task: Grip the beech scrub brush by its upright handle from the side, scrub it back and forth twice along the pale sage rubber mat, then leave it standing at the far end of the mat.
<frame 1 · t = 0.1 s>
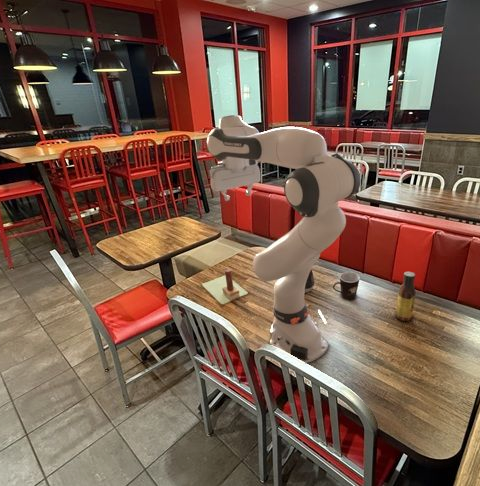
hand: (238, 197, 122), 48 cm above the table, tool pointing down, fingers open, 8 cm apart
scrub mat: (224, 289, 150), on the table
sauce bottle: (403, 317, 126), on the table
coffee mug: (345, 296, 141), on the table
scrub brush: (231, 294, 145), point 1 cm above the table, touching scrub mat
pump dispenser: (303, 290, 147), on the table
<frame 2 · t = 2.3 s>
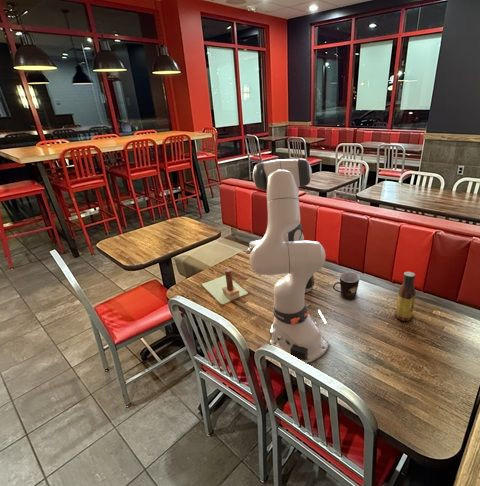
hand: (251, 256, 145), 17 cm above the table, tool horizontal, fingers open, 8 cm apart
nothing on the table moved.
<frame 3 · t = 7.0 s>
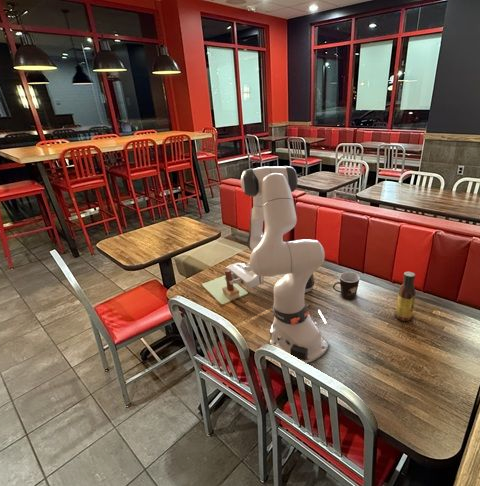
hand: (227, 280, 141), 9 cm above the table, tool horizontal, fingers closed on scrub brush, 3 cm apart
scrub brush: (231, 294, 145), point 1 cm above the table, touching gripper, scrub mat
everything else where it was.
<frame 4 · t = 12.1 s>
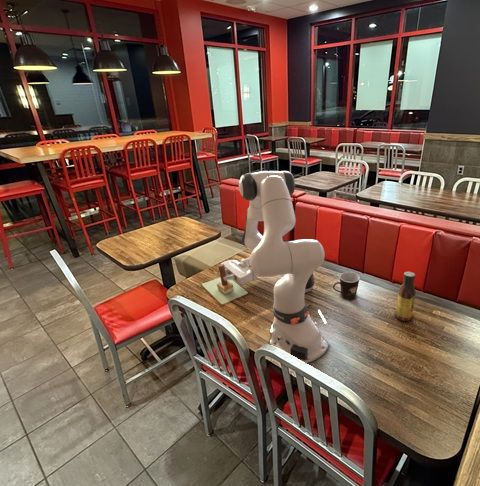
hand: (221, 276, 145), 8 cm above the table, tool horizontal, fingers closed on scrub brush, 3 cm apart
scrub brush: (225, 289, 148), point 1 cm above the table, tilted 5°, touching gripper
everything else where it was.
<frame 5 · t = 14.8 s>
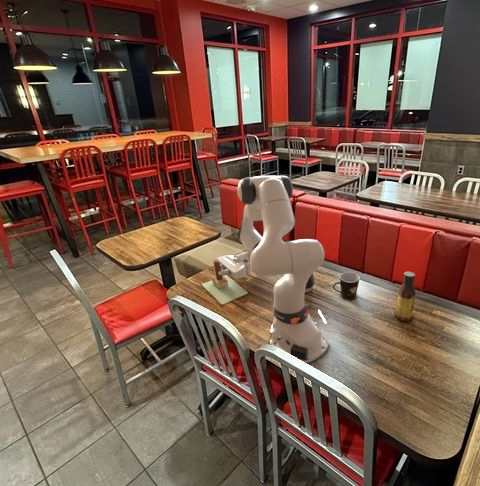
hand: (216, 271, 150), 8 cm above the table, tool horizontal, fingers closed on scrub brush, 3 cm apart
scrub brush: (220, 284, 153), point 1 cm above the table, touching gripper
everything else where it was.
when the fingers open (8 cm above the table, at t = 17.0 s): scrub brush stays where it is, resting on scrub mat.
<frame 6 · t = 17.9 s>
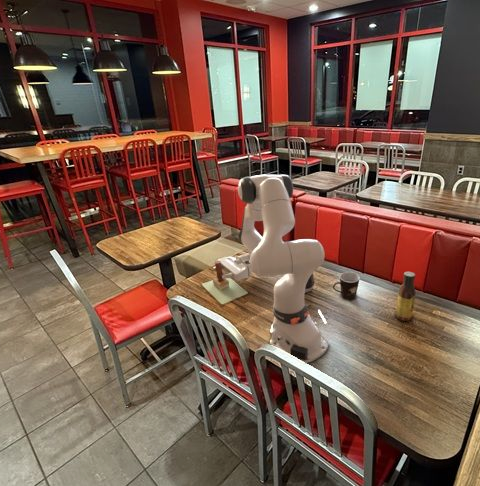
hand: (217, 273, 148), 8 cm above the table, tool horizontal, fingers open, 8 cm apart
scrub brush: (221, 285, 152), point 1 cm above the table, touching scrub mat
everything else where it was.
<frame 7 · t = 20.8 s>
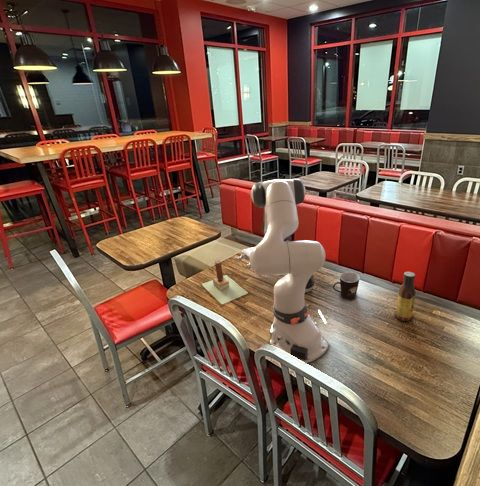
hand: (242, 262, 156), 9 cm above the table, tool horizontal, fingers open, 8 cm apart
nothing on the table moved.
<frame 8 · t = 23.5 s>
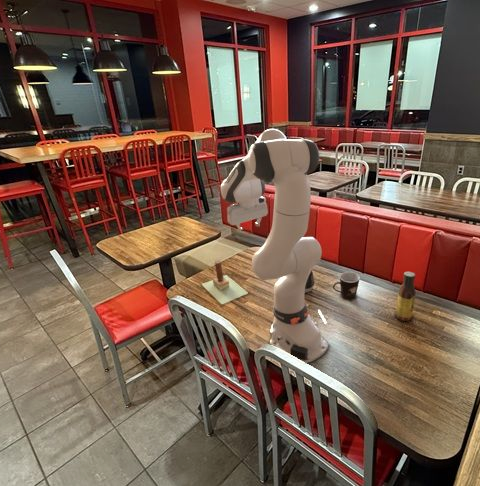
hand: (249, 228, 147), 27 cm above the table, tool pointing down, fingers open, 8 cm apart
nothing on the table moved.
at the end: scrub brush inside the target area (0.1 cm from its centre), point 0.6 cm above the table; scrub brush tilted 0°; the gripper is holding nothing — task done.
